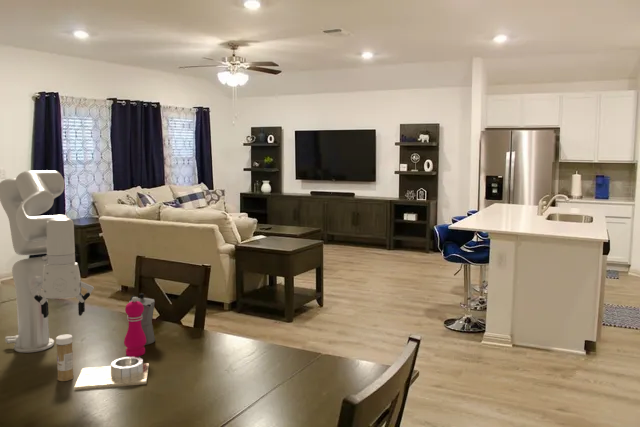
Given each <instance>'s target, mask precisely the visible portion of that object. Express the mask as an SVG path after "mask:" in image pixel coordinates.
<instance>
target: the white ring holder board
mask: <svg viewBox="0 0 640 427" xmlns="http://www.w3.org/2000/svg"><path fill="white" fill-rule="evenodd" d="M149 367H150V363H149V362H146V363H145V362H144V359H143V358H141V357H140V356H138V357H129V356H123V357H119V358H116V359H115V360H113V361H111V364H110V365H107V366H106V365H104V366H93V367H83V368H82V369H81V370H80V373H79V376H78V377H77V380H76V382H75V385H74V387H73V388H74V391H81V390H91V389H105V388H116V387H127V386H139V385H147V381H148V374H149Z"/></svg>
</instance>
